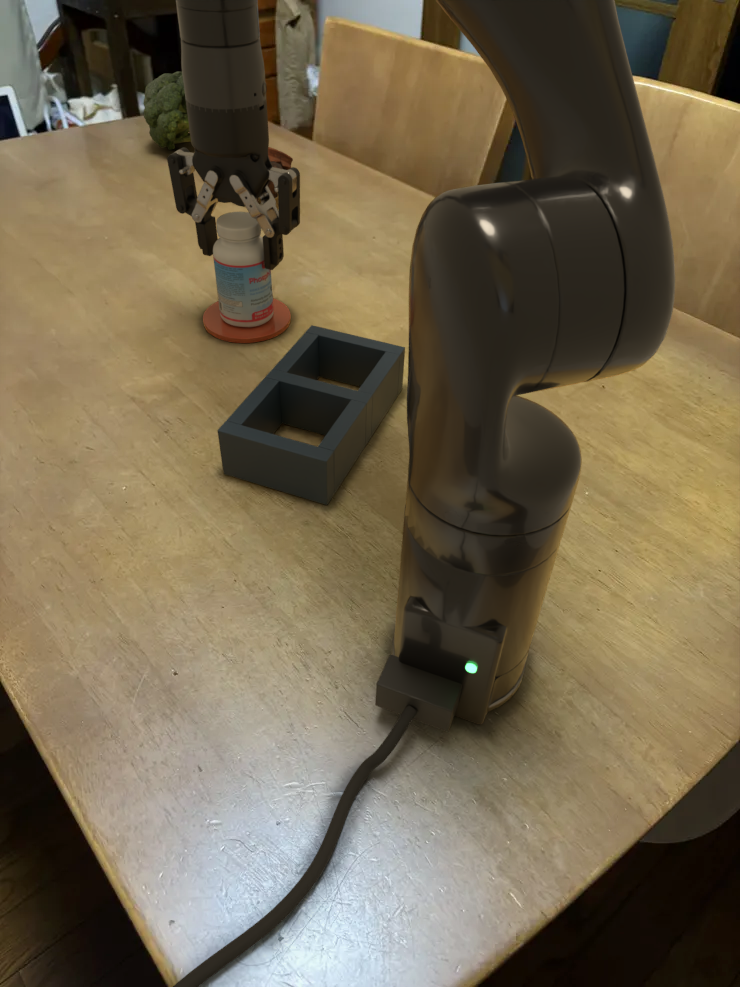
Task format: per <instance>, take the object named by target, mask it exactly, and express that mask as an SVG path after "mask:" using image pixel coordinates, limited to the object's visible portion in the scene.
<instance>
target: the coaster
mask: <svg viewBox="0 0 740 987" xmlns="http://www.w3.org/2000/svg"><path fill="white" fill-rule="evenodd" d="M273 309H274V312H273V316H272V318H271V319H270V320H269V321H268V322H266V323H264V324H262V325H260V326H256V327H238V326H233V325H230V324H228V323H226V322H225V321H224V320H223V319H222V318H221V315H220V310H219V301H218V300H217V301H215V302H213V303H212V304H210V305H209V306H208V307H207V308H206V309H205V310H204V312H203V315H202V323H203V327H204V329H205V330H206V331H207V333H208V334H210V335H211V336H212V337H214V338H215V339H219V340H222V341H224V342H229V343H236V344H253V343H260V342H264V341H268V340H271V339H274V338H276V337H278V336H279V335H281V334H283V333H284V332H285V331H286V330H287V329H288V328H289V326H290V325H291V321H292V316H291V315H292V314H291V310H290V308H289V307H288V306H287V305H286V304H285V303H284V302H282V301H281V300H279V299H277V298H274V297H273Z"/></svg>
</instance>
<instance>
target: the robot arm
mask: <svg viewBox="0 0 740 987" xmlns="http://www.w3.org/2000/svg"><path fill="white" fill-rule="evenodd" d="M435 2H436V3H437V4H438V6H439V7H440V8H441V9H442V10H443V12H444V13H445V14H446V15H447V17H448V18H449V19H450V20H451V22H453V24H454V25H455V26H456V27H457V29H458V30H459V31H460V32H461V33H462V35H463V36H464V37H465V38H466V39H467V41H468V42H469V43H470V44H471V45H472V47H473V48H474V49H475V51H476V52H477V54H478V55H479V56H480V58H481V59H482V60H483V62H484V63H485V64H486V66H487V67H488V69H489V70H490V72H491V73H492V76H494V78H495V80H496V81H497V84H498V85H499V86H500V89H501V90H502V93H503V95H504V97H505V99H506V101H507V103H508V105H509V108H510V111H511V113H512V115H513V117H514V120H515V122H516V127H517V130H518V132H519V135H520V138H521V141H522V145H523V148H524V152H525V156H526V159H527V163H528V167H529V172H530V176H531V178H530V179H522V180H514V181H503V182H494V183H485V184H475V185H469V186H463V187H457V188H452V189H450V190H446V191H443V192H441V193H440V194H438V195H437V196H435V197H434V198H433V199H432V200H431V201H430V203H428V205H426V206H427V207H425V210H424V211H423V213H422V215H421V217H420V220H419V222H418V225H417V227H416V229H415V235H414V239H413V242H412V247H411V254H410V262H409V263H410V264H409V277H408V278H409V279H408V353H407V354H408V359H407V361H408V362H407V385H406V386H407V387H406V421H407V422H406V423H407V424H406V426H407V436H408V437H407V438H408V466H407V480H406V494H405V505H404V515H403V525H402V538H401V550H400V561H399V575H398V585H397V586H398V587H397V599H396V609H395V622H394V624H395V625H394V633H393V638H392V643H391V654H390V653H389V656H388V657H387V660H386V663H385V664H384V667H383V669H382V670H381V673H380V675H379V678H378V680H377V682H376V686H375V704H374V705H375V706H376V707H378V708H380V709H381V708H382V709H384V710H387V711H389V712H392V713H394V714H397V715H399V717H398V719H397V720H396V721H395V723H394V724H393V726H392V728H391V729H390V731H389V733H388V734H387V736H386V737H385V739H384V740H383V741H382V742H381V744H380V745H379V746H378V747H377V749H376V750H375V751H374V752H373V753H372V754H370V755H369V756H368V757H367V758H366V759H364V760H363V761H362V762H361V763H360V765H359V766H358V767H357V769H356V770H355V771H354V773H353V775H352V776H351V778H350V779H349V781H348V783H347V785H346V786H345V788H344V790H343V792H342V794H341V796H340V798H339V801H338V803H337V805H336V807H335V811H334V812H333V815H332V817H331V820H330V823H329V825H328V828H327V830H326V833H325V835H324V837H323V840H322V841H321V844H320V846H319V848H318V851H317V852H316V854H315V856H314V858H313V860H312V861H311V863H310V865H309V866H308V868H307V869H306V870H305V872H304V873H303V874H302V876H301V877H300V879H299V880H298V881H297V882H296V883H295V885H294V886H293V887H292V888H291V889H290V891H289V892H288V893H287V894H286V895H285V896H284V897H283V898H282V899H281V900H280V901H279V902H278V903H277V904H276V905H275V906H274V907H273V908H272V909H271V910H270V911H269V912H268V913H266V914H265V915H264V916H263V917H261V919H259V920H258V921H257V922H255V923H254V924H253V925H251V926H250V927H249V928H248V929H246V930H244V932H242V933H241V934H240V935H238V936H237V937H236V938H234V939H232V941H229V943H227V944H226V945H224V946H223V947H221V949H219V950H218V951H216V952H215V953H213V954H211V955H210V956H209V957H208V958H207V959H205V960H204V961H203V962H200V964H199V965H197V966H196V967H195V968H193V969H192V970H191V971H190V972H188V974H186V975H185V976H183V977H182V978H181V979H180V980H179V981H177V982H176V983H175V984H174V985H172V987H201V985H203V984H204V983H205V982H207V981H208V980H209V979H211V978H212V977H213V976H214V975H215V974H217V973H218V972H220V971H221V970H222V969H224V968H225V967H226V966H228V965H229V964H230V963H232V962H234V961H235V960H236V959H238V958H239V957H240V956H242V955H243V954H244V953H245V952H247V951H249V950H250V949H251V948H252V947H253V946H255V945H257V943H259V942H260V941H261V940H263V939H264V938H265V937H266V936H267V935H268V934H270V933H271V932H273V930H275V929H276V928H277V927H278V926H279V925H280V924H281V923H283V922H284V920H285V919H287V918H288V916H289V915H290V914H292V912H293V911H294V910H295V909H296V908H297V907H298V905H300V904H301V902H302V901H303V900H304V899H305V897H306V896H307V895H308V894H309V893H310V891H311V890H312V889H313V887H315V885H316V883H317V882H318V880H319V878H320V877H321V875H322V874H323V872H324V870H326V867H327V865H328V863H329V861H330V860H331V857H332V854H333V853H334V850H335V848H336V846H337V844H338V841H339V838H340V836H341V833H342V830H343V827H344V825H345V823H346V819H347V817H348V814H349V812H350V810H351V807H352V805H353V803H354V801H355V799H356V797H357V795H358V793H359V792H360V789H361V788H362V787H363V785H364V783H365V782H366V780H368V777H369V776H370V775H371V773H373V771H374V770H375V769H376V768H378V767H380V766H381V764H383V763H385V761H386V760H387V758H389V756H390V755H391V754H392V752H393V751H394V750H395V748H396V747H397V746H398V744H399V743H400V741H401V739H402V738H403V736H404V735H405V733H406V732H407V729H409V727H410V725H411V724H412V722H413V721H417V722H418V723H421V724H424V725H428V726H430V727H433V728H435V729H438V730H441V731H443V732H446V733H449V732H450V729H451V726H452V723H453V721H454V718H455V717H457V718H460V719H463V720H465V721H467V722H469V723H474V724H476V725H482V724H483V723H484V722H485V719H486V716H487V714H488V712H491V711H493V710H496V709H498V708H499V707H501V706H503V705H504V704H505V703H507V702H508V701H509V700H511V699H512V697H513V696H514V695H515V694H516V692H517V691H518V689H519V688H520V686H521V684H522V680H523V678H524V675H525V672H526V671H525V670H526V664H527V659H528V655H529V653H530V649H531V646H532V641H533V637H534V634H535V631H536V628H537V624H538V620H539V618H540V613H541V611H542V607H543V603H544V599H545V596H546V593H547V589H548V586H549V583H550V579H551V576H552V572H553V569H554V566H555V562H556V559H557V555H558V552H559V548H560V545H561V542H562V538H563V536H564V533H565V529H566V525H567V522H568V518H569V515H570V511H571V508H572V505H573V501H574V498H575V495H576V490H577V488H578V484H579V482H580V476H581V472H582V466H583V464H582V463H583V460H582V459H583V458H582V450H581V447H580V443H579V442H578V439H577V437H576V435H575V434H574V432H573V431H572V429H571V428H570V427H569V426H568V425H567V423H566V422H565V421H564V420H563V419H562V418H560V417H559V416H558V415H557V414H556V413H554V412H553V411H552V410H550V409H548V408H547V407H545V406H543V405H541V404H539V403H537V402H535V401H534V400H531V399H528V398H526V397H523V396H521V395H526V394H530V393H535V392H541V391H542V392H543V391H546V390H547V391H548V390H552V389H558V388H562V387H567V386H572V385H577V384H581V383H587V382H593V381H598V380H602V379H603V380H604V379H607V378H608V379H609V378H612V377H616V376H617V377H618V376H620V375H624V374H627V373H630V372H633V371H635V370H637V369H639V368H641V367H643V366H644V365H645V364H646V363H648V361H650V360H651V359H652V358H653V357H654V356H655V355H656V354H657V352H658V351H659V349H660V348H661V345H662V344H663V342H664V340H665V338H666V336H667V333H668V330H669V327H670V323H671V320H672V316H673V312H674V305H675V293H676V268H675V267H676V266H675V252H674V242H673V235H672V229H671V223H670V219H669V214H668V208H667V203H666V200H665V196H664V192H663V188H662V183H661V180H660V175H659V171H658V167H657V163H656V160H655V156H654V152H653V148H652V144H651V141H650V137H649V133H648V130H647V126H646V122H645V118H644V114H643V111H642V107H641V103H640V99H639V96H638V92H637V88H636V84H635V81H634V80H635V79H634V76H633V72H632V68H631V65H630V60H629V57H628V53H627V49H626V45H625V40H624V37H623V32H622V28H621V25H620V21H619V16H618V12H617V6H616V1H615V0H435ZM258 3H259V2H258V0H175V4H176V13H177V21H178V29H179V38H180V49H181V50H180V51H181V53H180V54H181V57H180V59H181V61H180V64H181V72H182V76H183V83H184V91H185V99H186V106H187V114H188V122H189V130H190V132H189V133H190V137H191V141H190V143H191V146H192V147H193V148H194V152H190V150H189V149H188V148H187V147H183V146H182V147H181V148H179V149H177V150H176V151H174V152H172V153H170V154H169V155H167V157H166V160H167V166H168V171H169V177H170V182H171V187H172V192H173V199H174V203H175V204H174V205H175V208H176V211H177V212H178V213H179V214H182V215H183V214H186V215H188V216H190V217H191V219H192V220H193V221H194V224H195V232H196V238H197V246H198V247H199V249H200V250H202V252H201V253H202V255H203V256H208V257H212V256H213V246H214V244H215V242H216V241H217V240H218V239H219V238H218V233H217V225H216V221H217V219H216V216H213V213H214V211H215V210H216V207H217V205H218V203H222V204H228V203H232V204H233V205H236V206H237V207H243V208H246V210H247V212H249V213H250V215H251V217H252V218H254V219H256V220H257V222H258V223H259V225H260V227H261V231H262V233H263V234H264V235H263V236H262V238H263V250H264V263H265V268H266V269H269V270H271V271H273V270H274V269H276V268H277V267H278V266H279V264H280V263H281V262H282V261H284V260H283V259H284V236H288V235H289V234H291V232H292V231H293V230H294V229H295V228H298V227H299V225H300V223H301V172H300V171H299V169H298V168H297V167H294V166H291V167H292V168H290V169H289V170H284V169H279V168H275V167H273V165H272V163H271V161H270V159H269V156H268V147H270V133H269V132H270V131H269V118H268V117H269V116H268V103H267V102H268V101H267V100H268V99H267V90H268V88H267V82H266V71H265V62H264V57H263V56H264V55H263V50H262V45H261V38H260V37H261V35H260V34H261V32H260V18H259V6H258V5H259V4H258ZM195 171H196V173H197V174H198V176H199V177H200V179H201V181H202V182H203V184H202V186H201V188H200V190H199V192H197V187H196V181H195V173H194V172H195ZM270 180H271V181H272V182H273V184H274V191H275V192H277V193H278V195H277V199H278V200H277V201H276V198H274V197H273V195H272V193H271V191H270V189H269V187H268V186H267V184H268V183H269V181H270ZM258 198H259V200H260V203H259V202H257V199H258ZM277 203H278V204H277ZM277 205H278V208H277Z"/></svg>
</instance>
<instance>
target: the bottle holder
mask: <svg viewBox="0 0 740 987" xmlns="http://www.w3.org/2000/svg"><path fill="white" fill-rule="evenodd" d="M405 355H406V347H405V346H402V345H397V344H393V343H389V342H385V341H380V340H376V339H372V338H368V337H364V336H359V335H355V334H351V333H346V332H342V331H338V330H334V329H330V328H325V327H322V326H317V325H313V324H311V325H310V326H309V328H307V329H306V331H305V332H304V333H303V334H302V336H301V337H300V338H299V339H298V340H297V341H296V342H295V343H294V344H293V345H292V346H291V347H290V349H289V350H288V351H287V352H286V353H285V354H284V355H283V356H282V357H281V359H279V361H278V362H277V363H276V364H275V365H274V367H272V368H271V370H270V371H269V372H267V374H266V375H265V376H264V378H263V379H262V380H261V381H260V382H259V383H258V384H257V386H256V387H254V389H253V390H252V391H251V392H250V393H249V394H248V395H247V397H246V398H245V399H243V401H242V402H241V403H240V404H239V406H238V407H237V408H236V409H235V410H234V411H233V412H232V413H231V414H230V416H229V417H228V418H227V419H226V420H225V421H224V422H223V424H221V425H220V427H219V428H218V429H217V436H218V438H217V439H218V446H219V453H220V460H221V465H222V473H223V475H226V476H230V477H233V478H235V479H240V480H242V481H246V482H248V483H249V482H250V483H252V484H256V485H260V486H262V487H266V488H269V489H272V490H276V491H278V492H282V493H286V494H289V495H292V496H296V497H299V498H302V499H305V500H309V501H312V502H315V503H318V504H321V505H325V506H328V505H329V503H330V501H331V500H332V498H333V497H334V495H335V494H336V492H337V491H338V489H339V488H340V486H341V484H342V483H343V482H344V481H345V479H346V477H347V475H348V474H349V472H350V470H352V468H353V467H354V464H355V463H356V462H357V460H358V458H359V457H360V455H361V454H362V452H363V450H364V449H365V447H366V446H367V444H368V443H369V442H370V440H371V438H372V437H373V435H374V433H375V432H376V431H377V429H378V427H379V425H380V424H381V423H382V421H383V420H384V418H385V416H386V415H387V413H388V412H389V410H390V409H391V407H392V406H393V405H394V403H395V401H396V400H397V398H398V396H399V395H400V394H401V392H402V390H403V387H404V386H403V385H404V384H403V383H404V372H405V371H404V370H405V368H404V367H405ZM319 378H324V379H328V380H331V381H335V382H339V383H343V384H347V385H350V386H355V387H357V388H358V390H356V389H352V388H348V387H344V386H340V385H337V384H333V383H329V382H326V381H321V380H318V379H319ZM282 424H283V425H287V426H290V427H294V428H298V429H301V430H305V431H309V432H311V433H315V434H319V435H323V436H324V437H323V438H322V440H321V441H320V443H319V444H318V445H313V444H310V443H306V442H302V441H299V440H296V439H293V438H289V437H284V436H281V435H277V434H275V433H276V431H277V430H278V429H279V428H280V426H281V425H282Z"/></svg>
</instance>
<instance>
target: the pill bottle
mask: <svg viewBox="0 0 740 987" xmlns="http://www.w3.org/2000/svg"><path fill="white" fill-rule="evenodd" d="M216 229H217V237H219V238H218V240H217V241H216V242H215V244H214V246H213V255H212V257H213V266H214V275H215V284H216V292H217V301H219V310H220V315H221V318H222V319H223V320H224V321H225V322H226V323H228V324H230V325H233V326H238V327H256V326H260V325H262V324H264V323H266V322H268V321H269V320H270V319H271V318H272V316H273V312H274V309H273V298H274V296H273V295H274V293H273V280H272V270H269V269H266V268H265V263H264V250H263V236H261V234H262V229H261V227H260V225H259V223H258V222H257V220H256V219H254V218H252V217H251V215H250V213H249V212H248V211H231V212H230V211H229V212H226V213H223V214H221V215H220V216H219V217H217V219H216Z"/></svg>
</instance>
